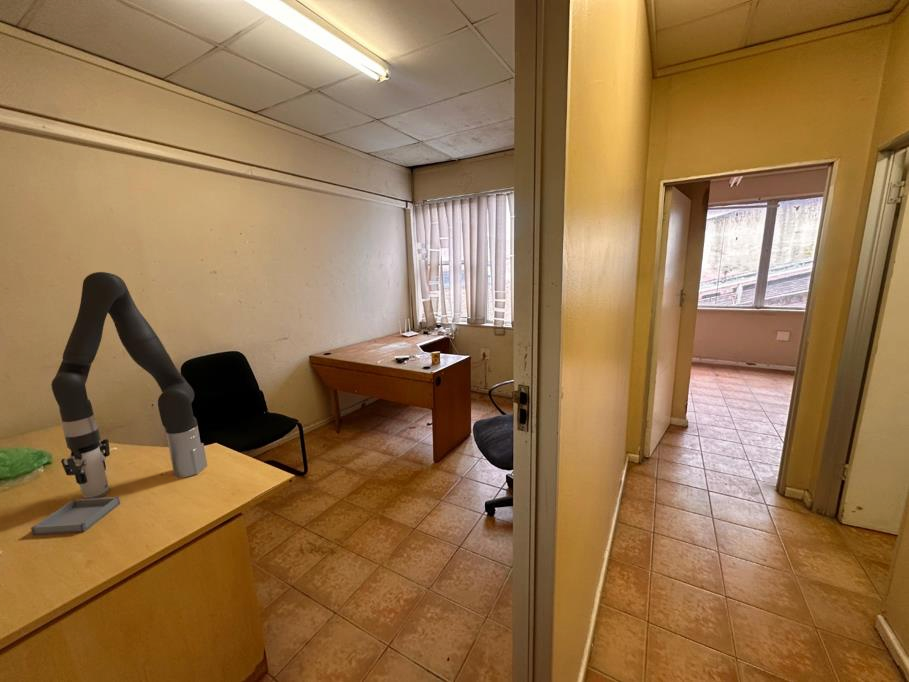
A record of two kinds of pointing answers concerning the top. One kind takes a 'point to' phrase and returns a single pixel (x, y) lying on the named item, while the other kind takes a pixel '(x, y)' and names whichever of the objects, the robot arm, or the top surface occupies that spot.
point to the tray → (76, 516)
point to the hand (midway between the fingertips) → (92, 477)
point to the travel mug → (93, 473)
